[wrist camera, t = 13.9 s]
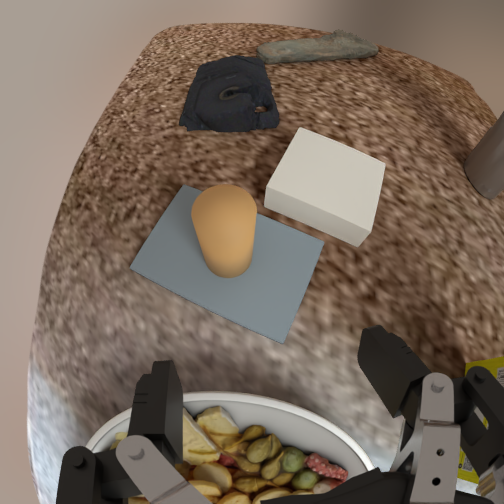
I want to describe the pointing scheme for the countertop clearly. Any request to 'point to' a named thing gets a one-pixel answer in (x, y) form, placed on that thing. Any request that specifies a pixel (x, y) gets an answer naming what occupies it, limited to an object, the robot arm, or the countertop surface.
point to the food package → (479, 415)
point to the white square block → (327, 186)
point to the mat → (238, 288)
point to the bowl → (252, 448)
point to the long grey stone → (317, 49)
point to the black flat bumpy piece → (230, 97)
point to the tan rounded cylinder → (225, 228)
